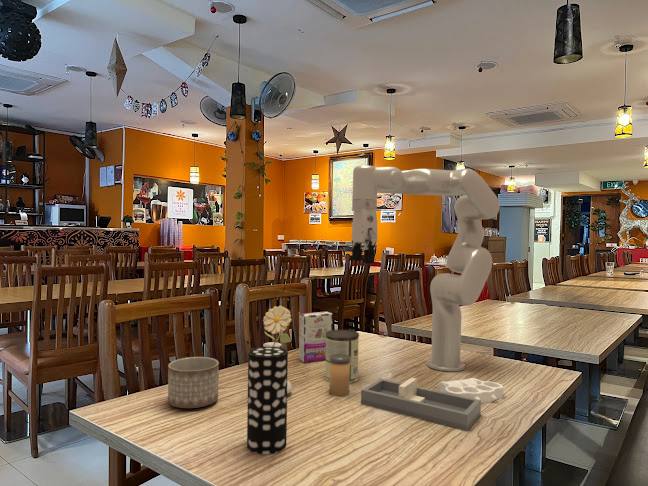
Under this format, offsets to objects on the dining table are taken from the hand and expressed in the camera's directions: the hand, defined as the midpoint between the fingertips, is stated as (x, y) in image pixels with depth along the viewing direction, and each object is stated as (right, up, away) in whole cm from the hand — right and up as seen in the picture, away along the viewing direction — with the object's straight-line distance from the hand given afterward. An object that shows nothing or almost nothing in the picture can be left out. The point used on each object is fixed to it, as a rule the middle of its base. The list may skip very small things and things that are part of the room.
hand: (362, 262), depth 143 cm
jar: (-8, -36, -12) cm, 39 cm away
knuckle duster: (+29, -38, -12) cm, 49 cm away
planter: (-46, -36, -21) cm, 62 cm away
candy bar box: (-15, -35, +20) cm, 43 cm away
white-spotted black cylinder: (-24, -37, -44) cm, 63 cm away
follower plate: (+11, -36, -22) cm, 43 cm away
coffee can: (-7, -36, 0) cm, 37 cm away
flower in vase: (-26, -36, -14) cm, 47 cm away
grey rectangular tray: (+13, -37, -23) cm, 45 cm away
